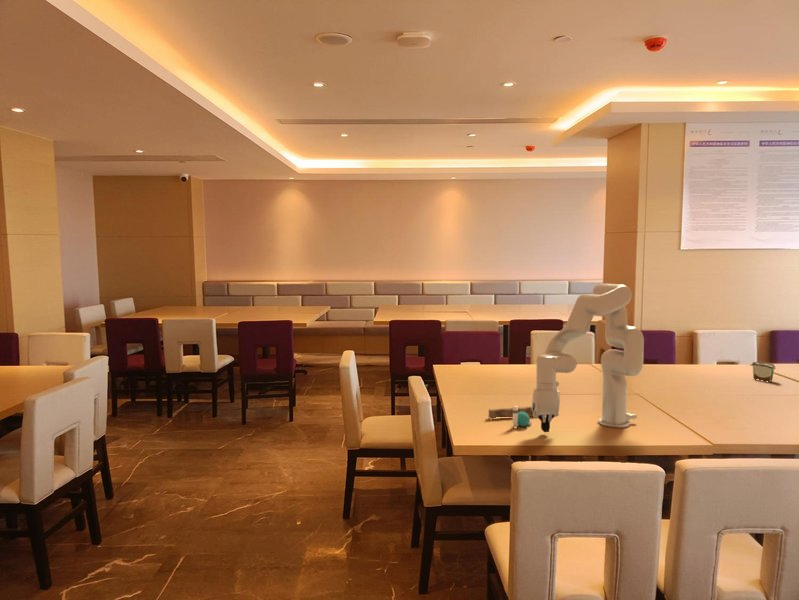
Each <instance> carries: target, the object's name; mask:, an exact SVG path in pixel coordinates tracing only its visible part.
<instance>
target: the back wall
mask: <svg viewBox="0 0 799 600" xmlns="http://www.w3.org/2000/svg"><path fill="white" fill-rule="evenodd" d="M519 412H525V413H527V414H528V416H533V412H532V406H523V407H522V406H521V407H520V406H518V413H519ZM489 417H490V418H496V417H513V407H507V408H505V407H504V408H492V409H491V408H490V409H488V418H489Z"/></svg>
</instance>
